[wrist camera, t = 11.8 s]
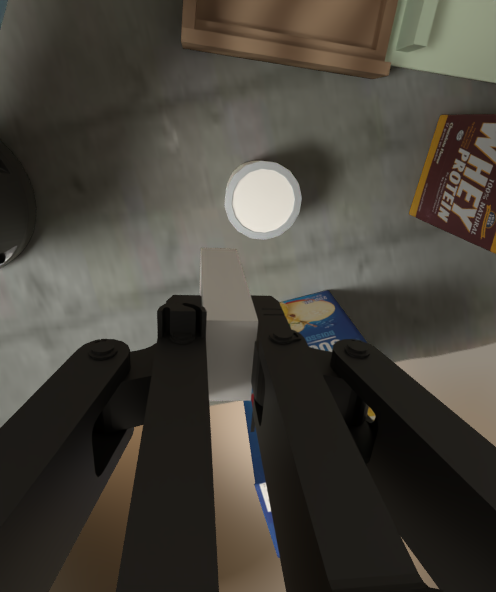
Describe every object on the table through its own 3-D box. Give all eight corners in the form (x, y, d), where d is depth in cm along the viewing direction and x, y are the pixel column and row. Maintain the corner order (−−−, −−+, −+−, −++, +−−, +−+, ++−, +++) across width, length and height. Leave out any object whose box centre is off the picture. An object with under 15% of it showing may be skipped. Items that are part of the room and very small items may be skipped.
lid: (378, 64, 38) (399, 58, 34) (409, -74, 34) (437, -100, 30) (508, 86, 40) (543, 83, 36) (552, -41, 36) (597, -62, 32)
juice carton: (329, 289, 47) (439, 437, 25) (337, 342, 50) (442, 515, 28) (230, 315, 47) (253, 485, 25) (244, 366, 50) (277, 558, 28)
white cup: (300, 185, 42) (318, 197, 35) (257, 235, 43) (266, 255, 37) (251, 139, 39) (260, 142, 33) (207, 193, 41) (208, 207, 35)
